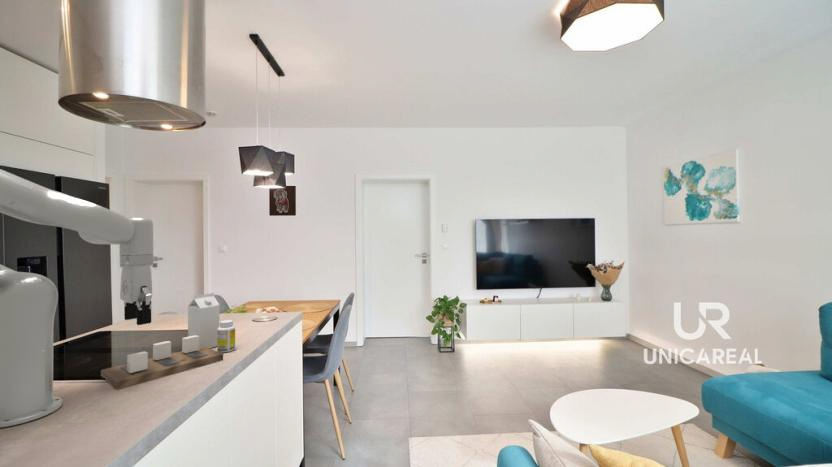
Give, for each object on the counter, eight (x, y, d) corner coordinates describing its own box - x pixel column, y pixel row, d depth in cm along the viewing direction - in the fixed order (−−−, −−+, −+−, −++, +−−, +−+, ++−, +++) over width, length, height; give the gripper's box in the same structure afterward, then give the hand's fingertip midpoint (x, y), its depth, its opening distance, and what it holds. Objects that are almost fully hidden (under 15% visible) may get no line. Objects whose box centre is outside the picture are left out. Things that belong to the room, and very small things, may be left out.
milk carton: (187, 348, 126) (188, 295, 126) (207, 343, 132) (207, 292, 132) (199, 351, 123) (200, 296, 123) (219, 346, 129) (219, 293, 129)
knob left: (130, 373, 97) (130, 356, 97) (127, 371, 98) (127, 355, 98) (147, 368, 100) (147, 352, 100) (144, 366, 102) (144, 351, 102)
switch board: (117, 389, 92) (117, 381, 92) (100, 376, 100) (101, 369, 101) (223, 360, 114) (223, 353, 114) (202, 351, 123) (202, 345, 123)
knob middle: (155, 360, 107) (156, 345, 107) (152, 358, 108) (153, 344, 108) (171, 356, 110) (171, 342, 110) (167, 355, 112) (168, 340, 112)
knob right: (185, 353, 113) (185, 339, 113) (182, 351, 115) (182, 337, 115) (198, 350, 117) (198, 336, 117) (195, 348, 118) (195, 335, 118)
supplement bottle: (233, 346, 128) (233, 318, 128) (236, 351, 124) (236, 321, 124) (216, 349, 125) (216, 320, 125) (218, 354, 120) (218, 323, 120)
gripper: (110, 260, 102) (111, 319, 102) (131, 263, 92) (132, 329, 92) (141, 258, 108) (142, 314, 109) (164, 261, 98) (165, 323, 99)
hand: (137, 321), depth 101 cm, fingers open, 9 cm apart
